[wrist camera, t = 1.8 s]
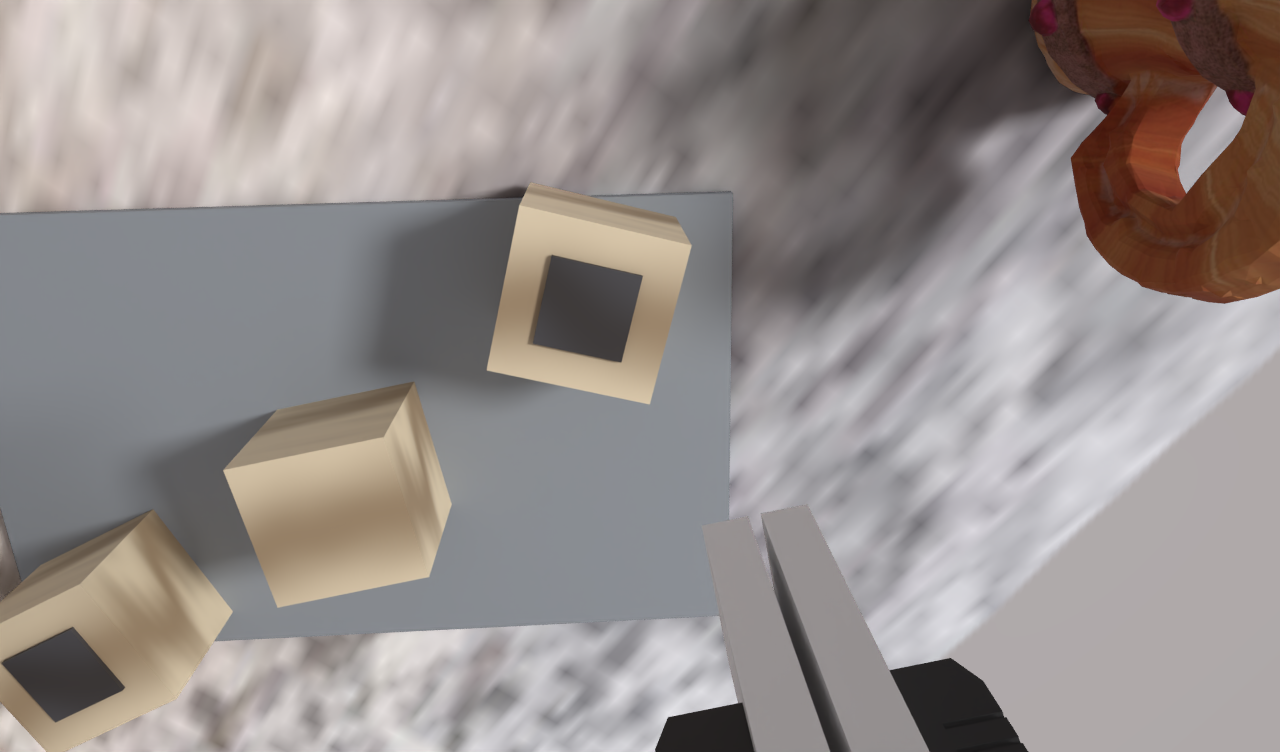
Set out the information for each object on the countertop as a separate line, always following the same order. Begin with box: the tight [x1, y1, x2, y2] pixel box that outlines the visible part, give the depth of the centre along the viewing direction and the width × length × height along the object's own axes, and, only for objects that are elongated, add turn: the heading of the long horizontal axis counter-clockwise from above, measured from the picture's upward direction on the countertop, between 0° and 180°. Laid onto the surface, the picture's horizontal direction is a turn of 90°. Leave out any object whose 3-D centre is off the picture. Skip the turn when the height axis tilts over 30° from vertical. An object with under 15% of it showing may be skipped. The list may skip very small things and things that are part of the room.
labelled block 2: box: [487, 182, 692, 404], centre depth 34 cm, size 6×6×6 cm
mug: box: [1029, 0, 1280, 304], centre depth 29 cm, size 15×8×15 cm, turn 167°
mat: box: [0, 191, 733, 641], centre depth 39 cm, size 20×32×1 cm, turn 91°
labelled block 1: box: [0, 509, 233, 752], centre depth 38 cm, size 6×6×6 cm
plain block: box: [223, 382, 452, 608], centre depth 36 cm, size 6×6×6 cm
